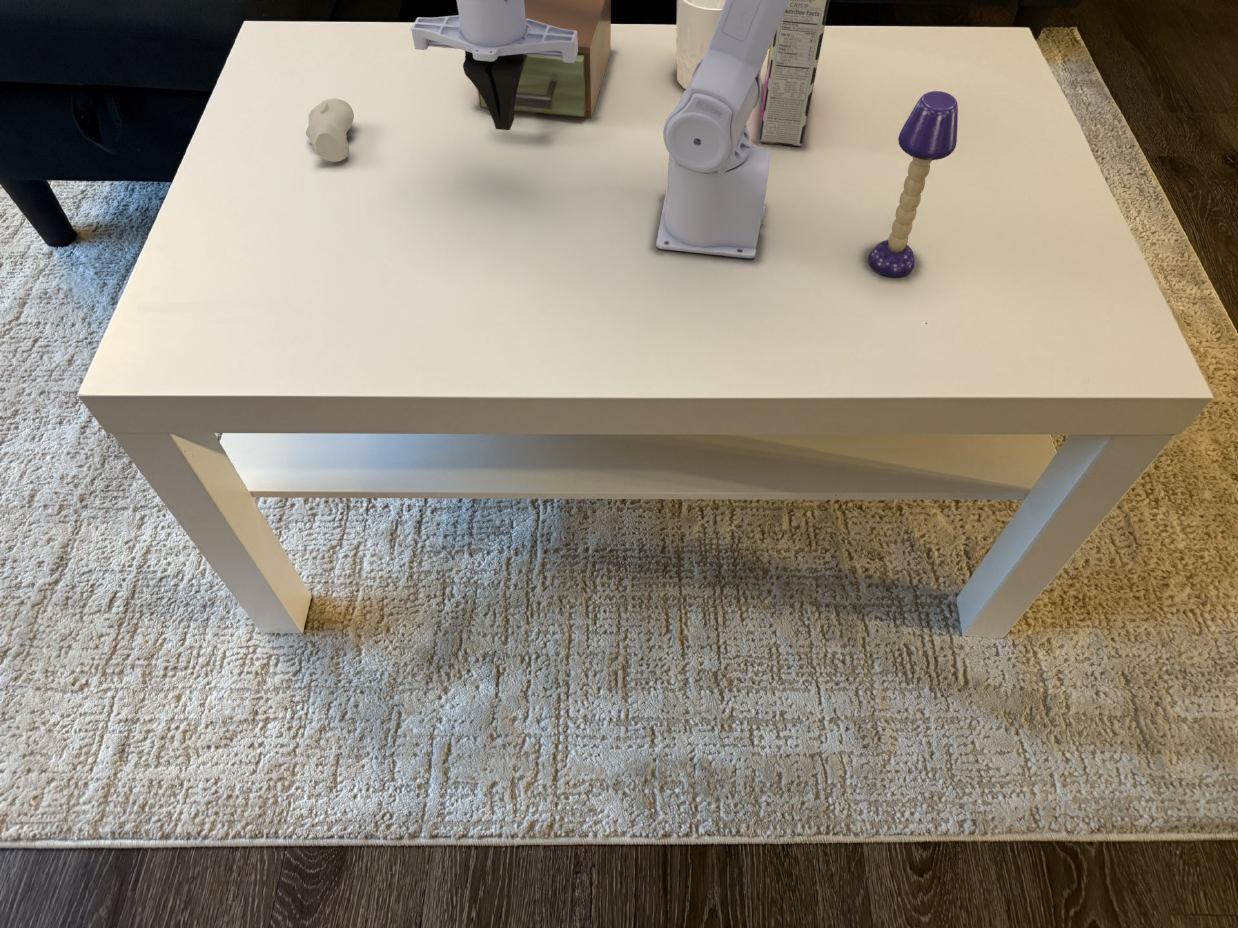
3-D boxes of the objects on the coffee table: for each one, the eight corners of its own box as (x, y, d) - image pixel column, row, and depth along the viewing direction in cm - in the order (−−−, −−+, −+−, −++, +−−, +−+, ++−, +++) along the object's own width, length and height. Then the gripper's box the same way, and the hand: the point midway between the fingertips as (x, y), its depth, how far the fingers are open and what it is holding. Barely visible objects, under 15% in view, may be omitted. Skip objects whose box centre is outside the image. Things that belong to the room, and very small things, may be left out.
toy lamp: (868, 279, 81) (920, 118, 67) (857, 245, 83) (904, 84, 70) (918, 277, 81) (980, 115, 67) (905, 243, 84) (962, 82, 70)
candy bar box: (762, 86, 99) (785, -68, 86) (806, 90, 99) (836, -64, 85) (755, 144, 93) (779, -13, 79) (802, 149, 92) (834, -8, 79)
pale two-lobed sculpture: (323, 132, 95) (365, 119, 94) (311, 176, 90) (354, 163, 89) (301, 98, 92) (343, 83, 91) (286, 141, 87) (331, 127, 86)
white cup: (671, 59, 102) (677, -29, 94) (738, 61, 102) (749, -27, 94) (671, 97, 98) (676, 8, 89) (741, 99, 98) (753, 10, 89)
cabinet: (591, 118, 95) (590, 47, 89) (479, 107, 96) (470, 36, 90) (610, 52, 103) (610, -18, 96) (507, 43, 104) (500, -27, 97)
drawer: (577, 140, 91) (575, 84, 86) (472, 129, 92) (463, 73, 87) (602, 55, 101) (602, 0, 96) (507, 46, 102) (501, -8, 97)
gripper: (389, -6, 71) (420, 141, 82) (564, 8, 69) (571, 156, 80) (414, -47, 75) (440, 99, 86) (579, -34, 73) (584, 112, 84)
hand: (505, 124), depth 83 cm, fingers closed
